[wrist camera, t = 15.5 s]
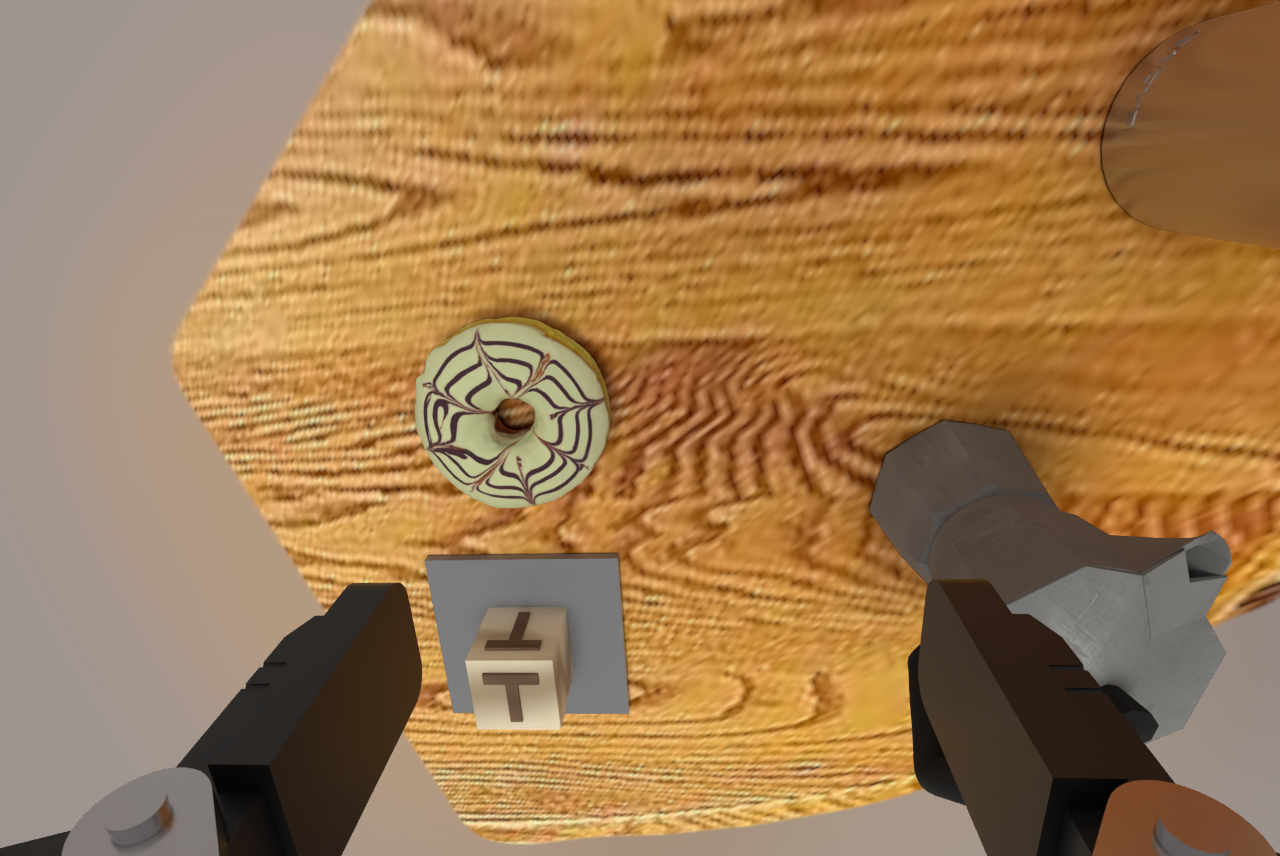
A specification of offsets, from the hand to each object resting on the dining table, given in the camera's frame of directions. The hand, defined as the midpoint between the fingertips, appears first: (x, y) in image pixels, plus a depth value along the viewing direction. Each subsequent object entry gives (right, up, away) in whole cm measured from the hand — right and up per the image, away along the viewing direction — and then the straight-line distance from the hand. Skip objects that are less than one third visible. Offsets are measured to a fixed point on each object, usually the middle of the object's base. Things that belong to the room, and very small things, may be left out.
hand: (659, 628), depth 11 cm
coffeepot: (+17, -1, +30) cm, 34 cm away
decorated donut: (-7, +5, +29) cm, 31 cm away
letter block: (-7, -10, +34) cm, 37 cm away
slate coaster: (-7, -10, +35) cm, 37 cm away
